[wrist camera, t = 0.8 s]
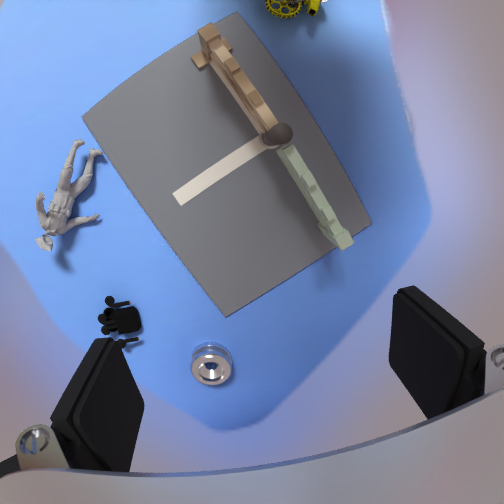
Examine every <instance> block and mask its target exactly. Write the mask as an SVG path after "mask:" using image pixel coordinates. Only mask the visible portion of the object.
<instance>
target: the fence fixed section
mask: <svg viewBox="0 0 504 504" xmlns="http://www.w3.org/2000/svg"><path fill="white" fill-rule="evenodd" d="M197 31H198V35H199V40H200V44H201V48H202V50H201V51H199V52H198V53H196V54H194V55H193V56H191V58H192V60H193V61H194V63H195V64H196V65H197V67H198V68H199V69H200V68H202V67H203V66H205V65H206V64H208V63H209V62H211V61H214V63H215V64H216V65H217V67H218V68H219V70H220V71H221V72H222V74H223V75H224V77H225V78H226V80H227V81H228V83H229V84H230V85H231V86H232V88H233V89H234V91H235V92H236V93H237V95H238V96H239V98H240V99H241V101H242V102H243V103H244V105H245V107H246V108H247V110H248V111H249V113H250V114H251V115H252V117H253V118H254V120H255V121H256V122H257V124H258V125H259V127H260V128H261V130H262V131H263V134H262V141H263V142H264V144H266V145H268V146H275V145H282V144H287V143H288V142H290V141H291V139H292V137H293V130H292V128H291V127H290V126H289V125H288V124H286V123H279V122H278V121H277V119H276V118H275V116H274V115H273V113H272V112H271V110H270V109H269V107H268V106H267V104H266V103H265V102H264V100H263V99H262V97H261V96H260V94H259V93H258V91H257V90H256V88H255V87H254V86H253V84H252V83H251V81H250V80H249V79H248V77H247V76H246V74H245V73H244V72H243V70H242V69H241V67H240V66H239V65H238V63H237V62H236V61H235V59H234V58H233V57H232V55H231V54H230V52H229V51H231V50H232V49H233V48H232V47H231V46H230V44H229V43H228V42H227V40H226V39H225V38H222V39H221V36H220V32H219V31H218V30H217V28H216V27H215V26H214V25H213V23H212V22H211V23H209V24H208V25H206V26H204V27H202V28H200V29H199V30H197Z"/></svg>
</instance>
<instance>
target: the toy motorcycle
mask: <svg viewBox="0 0 504 504" xmlns="http://www.w3.org/2000/svg"><path fill="white" fill-rule="evenodd" d="M301 1H302V2H301ZM321 2H323V3H324V2H327V0H281V1H275V0H265V5H267V6H266V9H268V10H269V11H268V12H271V13H272V14H271V15H273V14H274V15H276V17H277V16H278V17H280V19H281V18H285V19H286V18H288V17H289V19H290V18H291V17H292V16H293V17H295V15H298V13H299V12H300V10H301V7H302V6H300V5H306V4H307V13H308V14H310V15H312V16H315V15H316V13H317V12H318V9H319V7H320V4H321ZM273 3H278V4H279V5H280V8H279V9H274V8H272V6H271V5H272V4H273ZM292 7H296V8H292ZM281 8H288V9H289V13H287V14H285V13H283V12H282V11H281Z"/></svg>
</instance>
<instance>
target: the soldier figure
mask: <svg viewBox="0 0 504 504" xmlns="http://www.w3.org/2000/svg"><path fill="white" fill-rule="evenodd" d="M84 143H85V142H84V141H82V140H81V139H78V140H74V142H73V146H72V149H71V150H70V153H69V155H68V157H67V159H66V161H65V164H64V167H63V169H62V171H61V173H60V179H59V182H58V187H57V189H56V190H55V192H54V196H53V200H52V201H51V202H50V205H49V208H48V209H49V211H48V213H47V214H46V212H45V210H44V204H43V202H42V201H43V200H44V199H45V198H46V196H45V197H44V195H43V194H42V193H43V192H41V191H40V192H39V194H38V195H37V198H36V210H37V214H38V217H39V221H40V225H41V227H42V228H43V229H44V230H46V234H47V235H51V236H56V235H57V234H61V235H63V234H64V233H65V232H67V231H68V230H69V229H71V228H72V227H74V226H76V225H79V224H83V223H87V222H89V221H93V220H96V219H97V218H99V216H100V215H98V214H96V213H95V214H94V215H93V216H92V217H88V216H86V217H76V218H73V219H70V220H67V218H68V217H70V215H71V213H72V210H71V209H72V206H73V203H74V202H75V198H76V197H77V196H78V195H79V194H80V193H81V192H82V191H83V190H84V189H85V188H86V187H87V186H88V185H89V183H90V182H91V178H92V176H93V173H92V171H93V162H94V157H96V156H97V155H102V154H103V152H102V151H101V150H99V149H96V150H95V149H92V148H91V149H90V151H89V157H88V161H87V164H86V167H85V169H84V173H83V175H82V176H81V177H80V178H78V179H77V180H75V182H73V183H71V184H70V179H71V176H72V173H73V168H72V167H73V162H74V158H75V153H76V150H77V148H79V147H80V146H81V145H84ZM41 194H42V195H41ZM40 195H41V196H40ZM43 197H44V198H43ZM97 215H98V216H97ZM47 235H45V234H44V235H42V238H35V239H36V242H37V244H38V246H39V247H40V248H42V249H43V250H46V251H52V247H53V241H52V239H51V237H49V236H47Z"/></svg>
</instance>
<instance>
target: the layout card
mask: <svg viewBox="0 0 504 504" xmlns="http://www.w3.org/2000/svg"><path fill="white" fill-rule="evenodd" d="M213 25H214V26H215V27H216V28H217V30H218V31H219V32H220V36H221V39H222V38H225V39H226V40H227V42H228V43H229V44H230V46H231V47H232V48H233V49H232V50H231V51H229V52H230V54H231V55H232V57H233V58H234V59H235V61H236V62H237V63H238V65H239V66H240V67H241V69H242V70H243V72H244V73H245V74H246V76H247V77H248V79H249V80H250V81H251V83H252V84H253V86H254V87H255V88H256V90H257V91H258V93H259V94H260V96H261V97H262V99H263V100H264V102H265V103H266V104H267V106H268V107H269V109H270V110H271V112H272V113H273V115H274V116H275V118H276V119H277V121H278V122H279V123H286V124H288V125H289V126H290V127H291V128H292V130H293V137H292V139H291V141H290V142H288V143H287V144H282V145H275V146H268V145H266V144H264V142H263V141H262V134H263V131H262V130H261V128H260V127H259V125H258V124H257V122H256V121H255V120H254V118H253V117H252V115H251V114H250V113H249V111H248V110H247V108H246V107H245V105H244V103H243V102H242V101H241V99H240V98H239V96H238V95H237V93H236V92H235V91H234V89H233V88H232V86H231V85H230V84H229V83H228V81H227V80H226V78H225V77H224V75H223V74H222V72H221V71H220V70H219V68H218V67H217V65H216V64H215V63H214V61H211V62H209V63H208V64H206V65H205V66H203V67H202V68H200V69H199V68H198V67H197V65H196V64H195V63H194V61H193V60H192V58H191V56H193V55H194V54H196V53H198V52H199V51H201V50H202V48H201V44H200V40H199V35H198V33H196V34H195V35H193V36H191V37H189V38H188V39H186V40H185V41H183V42H181V43H180V44H178V45H176V46H175V47H173V48H172V49H170V50H169V51H167V52H165V53H164V54H162V55H161V56H159V57H158V58H156V59H155V60H153V61H152V62H151V63H149V64H148V65H146V66H145V67H143V68H142V69H141V70H139V71H138V72H136V73H135V74H134V75H132V76H131V77H130V78H128V79H127V80H126V81H124V82H123V83H122V84H120V85H119V86H118V87H117V88H115V89H114V90H113V91H112V92H110V93H109V94H108V95H107V96H105V97H104V98H103V99H102V100H100V101H99V102H98V103H97V104H96V105H95V106H93V107H92V108H91V109H90V110H89V111H88V112H86V113H85V114H84V115H83V116H82V118H83V120H84V122H85V123H86V125H87V126H88V128H89V129H90V131H91V133H92V134H93V136H94V137H95V139H96V140H97V142H98V143H99V145H100V146H101V148H102V149H103V151H104V152H105V154H106V155H107V157H108V158H109V160H110V161H111V163H112V164H113V166H114V167H115V169H116V170H117V172H118V173H119V175H120V176H121V178H122V179H123V181H124V182H125V183H126V185H127V186H128V188H129V189H130V191H131V192H132V194H133V195H134V196H135V198H136V199H137V201H138V202H139V204H140V205H141V206H142V208H143V209H144V211H145V212H146V213H147V215H148V216H149V218H150V219H151V220H152V222H153V223H154V224H155V226H156V227H157V229H158V230H159V231H160V233H161V234H162V235H163V237H164V238H165V239H166V241H167V242H168V244H169V245H170V246H171V248H172V249H173V250H174V252H175V253H176V254H177V256H178V257H179V258H180V260H181V261H182V262H183V263H184V265H185V266H186V267H187V269H188V270H189V271H190V273H191V274H192V275H193V277H194V278H195V279H196V280H197V282H198V283H199V284H200V286H201V287H202V288H203V289H204V291H205V292H206V293H207V295H208V296H209V297H210V298H211V300H212V301H213V302H214V303H215V305H216V306H217V307H218V308H219V310H220V311H221V312H222V313H223V315H224V316H225V317H227V316H228V315H230V314H232V313H233V312H235V311H237V310H238V309H240V308H242V307H243V306H245V305H246V304H248V303H250V302H251V301H253V300H255V299H256V298H258V297H259V296H261V295H263V294H264V293H266V292H267V291H269V290H271V289H272V288H274V287H275V286H277V285H279V284H280V283H282V282H283V281H285V280H287V279H288V278H290V277H291V276H293V275H294V274H296V273H298V272H299V271H301V270H302V269H304V268H305V267H307V266H308V265H310V264H311V263H313V262H315V261H316V260H318V259H319V258H321V257H322V256H324V255H325V254H327V253H328V252H330V251H331V250H333V249H334V248H336V247H337V246H336V245H334V244H333V243H332V242H331V241H330V240H329V239H328V238H327V237H325V236H324V235H323V233H322V232H321V230H320V228H319V227H318V225H317V224H318V223H319V221H318V219H317V217H316V216H315V214H314V212H313V211H312V209H311V208H310V206H309V204H308V203H307V201H306V199H305V197H304V196H303V194H302V192H301V191H300V189H299V187H298V186H297V184H296V182H295V181H294V180H293V178H292V176H291V175H290V173H289V172H288V170H287V168H286V166H285V165H284V163H283V162H282V160H281V159H280V157H279V155H278V154H277V152H276V151H275V150H277V149H278V148H280V147H282V146H283V145H287V146H288V145H290V144H293V145H294V147H295V148H296V150H297V151H298V153H299V155H300V156H301V158H302V159H303V161H304V163H305V164H306V166H307V168H308V169H309V171H310V172H311V173H312V175H313V177H314V178H315V180H316V182H317V184H318V186H319V188H320V189H321V191H322V193H323V195H324V196H325V198H326V200H327V201H328V203H329V205H330V206H331V208H332V209H333V211H334V213H335V215H336V217H337V219H338V221H339V223H340V225H341V226H342V227H343V228H345V229H346V230H348V232H349V234H350V236H351V237H353V236H354V235H356V234H357V233H359V232H360V231H361V230H363V229H364V228H366V227H367V226H369V225H370V224H372V222H371V220H370V218H369V216H368V214H367V212H366V210H365V208H364V206H363V204H362V202H361V200H360V198H359V196H358V194H357V192H356V191H355V189H354V187H353V185H352V183H351V181H350V179H349V178H348V176H347V174H346V172H345V170H344V169H343V167H342V165H341V163H340V162H339V160H338V158H337V156H336V155H335V153H334V151H333V149H332V148H331V146H330V144H329V143H328V141H327V139H326V138H325V136H324V134H323V133H322V131H321V129H320V128H319V126H318V124H317V123H316V121H315V120H314V118H313V116H312V115H311V113H310V112H309V110H308V109H307V107H306V105H305V104H304V102H303V101H302V99H301V98H300V96H299V95H298V93H297V92H296V90H295V89H294V87H293V86H292V84H291V83H290V81H289V80H288V79H287V77H286V76H285V74H284V73H283V71H282V70H281V68H280V67H279V66H278V64H277V63H276V61H275V60H274V59H273V57H272V56H271V55H270V53H269V52H268V50H267V49H266V48H265V46H264V45H263V44H262V42H261V41H260V40H259V38H258V37H257V36H256V35H255V33H254V32H253V31H252V29H251V28H250V27H249V26H248V24H247V23H246V22H245V21H244V19H243V18H242V17H241V16H240V14H239V13H238V12H235V13H233V14H231V15H229V16H227V17H225V18H224V19H222V20H220V21H218V22H216V23H214V24H213Z"/></svg>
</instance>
